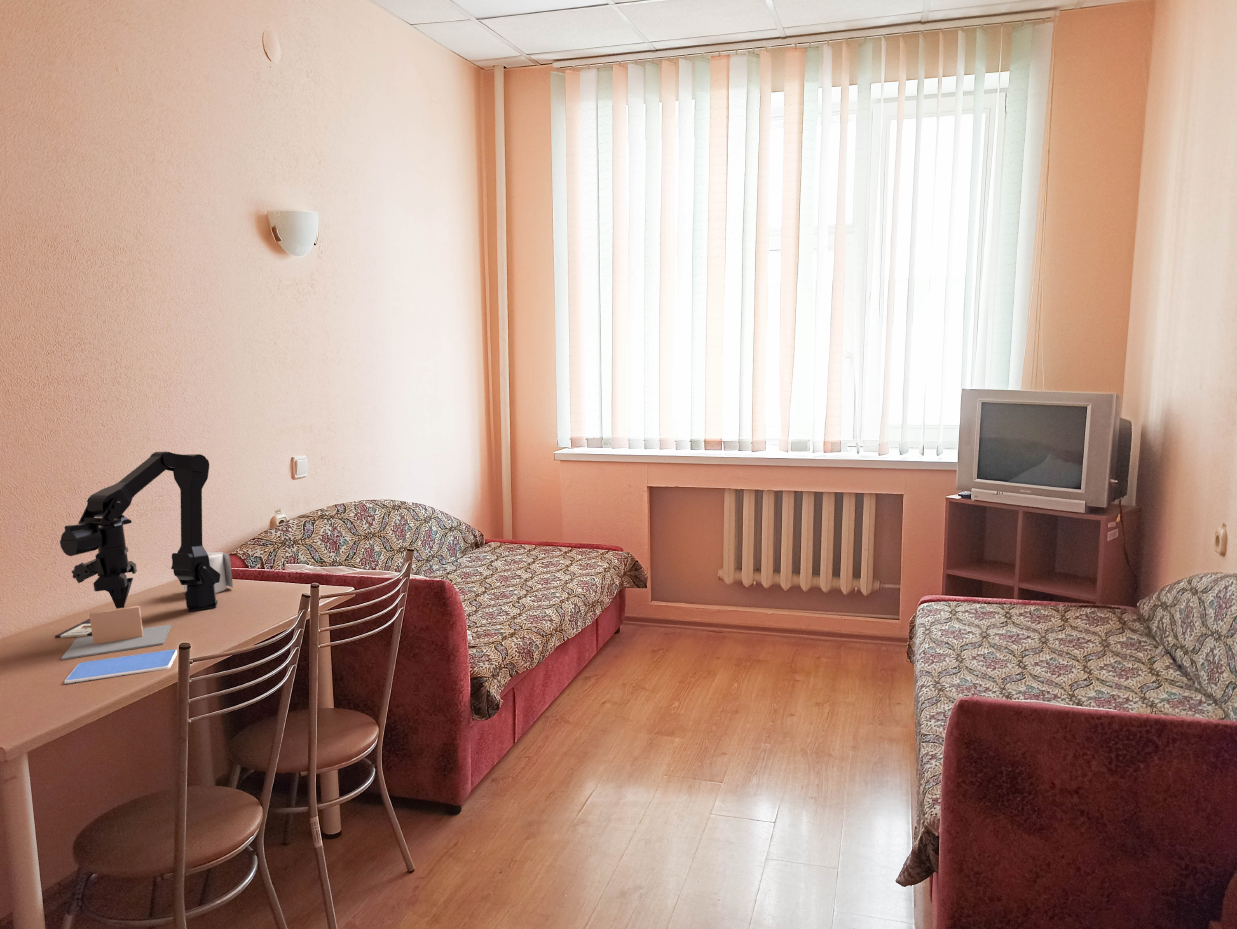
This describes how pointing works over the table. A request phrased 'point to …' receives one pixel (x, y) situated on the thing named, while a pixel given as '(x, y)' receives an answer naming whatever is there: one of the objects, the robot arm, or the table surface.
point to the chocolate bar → (77, 630)
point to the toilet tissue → (220, 570)
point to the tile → (116, 624)
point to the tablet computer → (122, 666)
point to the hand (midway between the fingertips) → (120, 611)
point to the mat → (117, 643)
